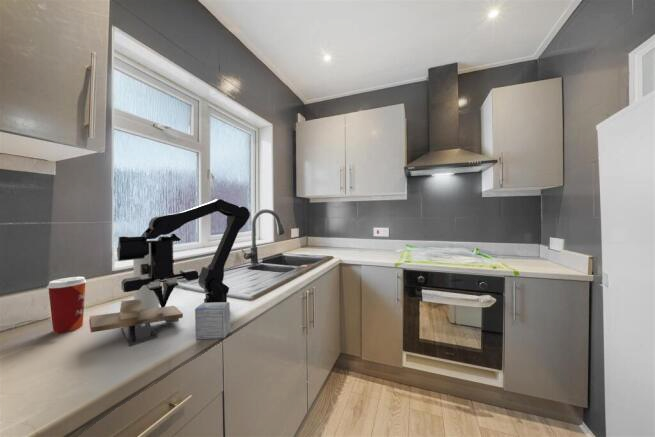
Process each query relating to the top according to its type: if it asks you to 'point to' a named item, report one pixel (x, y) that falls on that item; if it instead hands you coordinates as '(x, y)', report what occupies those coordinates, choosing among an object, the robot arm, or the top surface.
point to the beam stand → (139, 333)
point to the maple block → (130, 309)
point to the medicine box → (212, 320)
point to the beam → (152, 315)
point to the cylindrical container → (144, 293)
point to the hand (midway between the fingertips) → (162, 306)
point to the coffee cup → (67, 303)
